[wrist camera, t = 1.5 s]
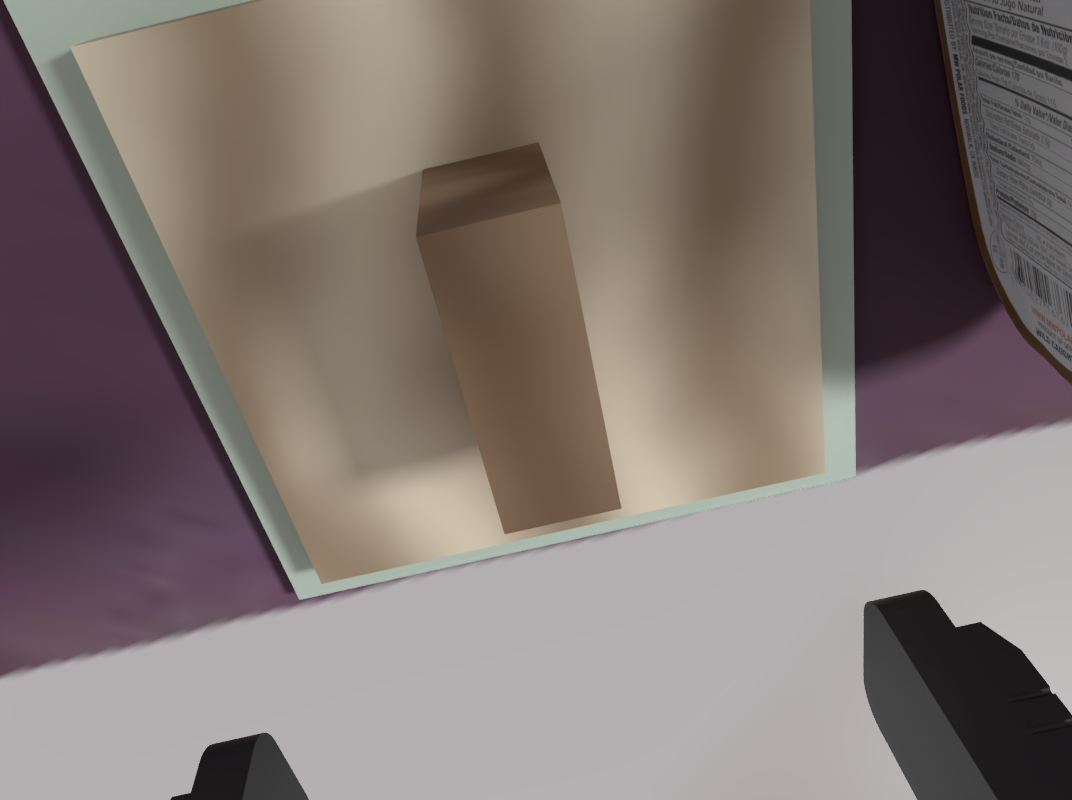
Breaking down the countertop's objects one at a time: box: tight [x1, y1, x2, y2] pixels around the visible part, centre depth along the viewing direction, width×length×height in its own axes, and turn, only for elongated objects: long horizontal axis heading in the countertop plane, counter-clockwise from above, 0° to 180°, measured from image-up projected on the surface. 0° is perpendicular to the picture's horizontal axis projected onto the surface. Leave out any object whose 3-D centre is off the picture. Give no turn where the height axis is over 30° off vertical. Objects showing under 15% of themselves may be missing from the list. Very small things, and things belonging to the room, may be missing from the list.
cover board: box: [70, 0, 825, 584], centre depth 21 cm, size 17×17×6 cm
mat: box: [3, 0, 856, 600], centre depth 24 cm, size 20×20×1 cm
